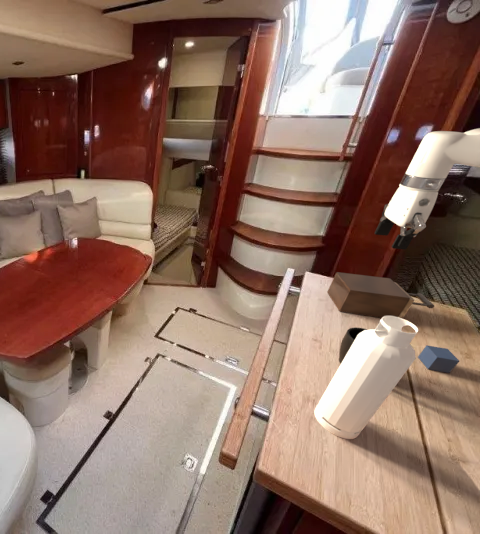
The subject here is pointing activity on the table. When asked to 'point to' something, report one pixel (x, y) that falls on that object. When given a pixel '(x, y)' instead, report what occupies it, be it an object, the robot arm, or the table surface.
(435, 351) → the block
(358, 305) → the cabinet
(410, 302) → the drawer
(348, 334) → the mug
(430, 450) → the table surface
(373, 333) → the bottle
